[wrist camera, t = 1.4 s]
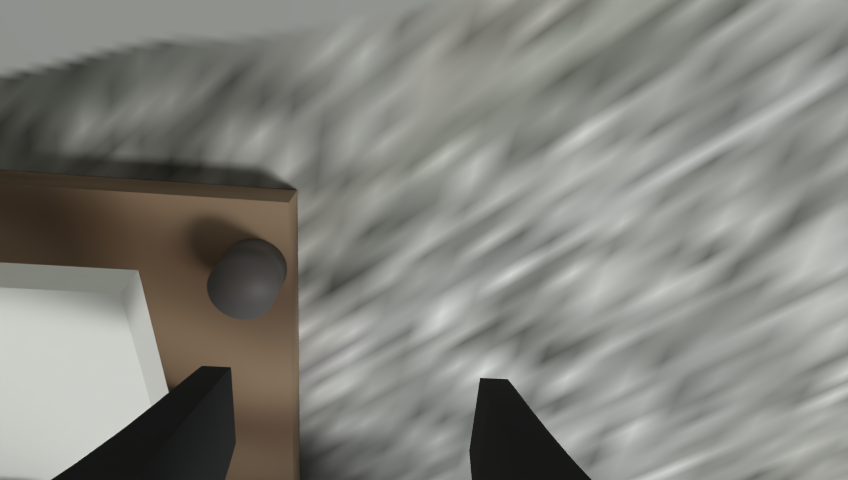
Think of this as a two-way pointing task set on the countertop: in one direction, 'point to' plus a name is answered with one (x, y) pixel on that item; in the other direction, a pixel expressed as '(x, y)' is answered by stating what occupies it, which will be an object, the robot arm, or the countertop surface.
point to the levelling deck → (71, 364)
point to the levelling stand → (187, 284)
